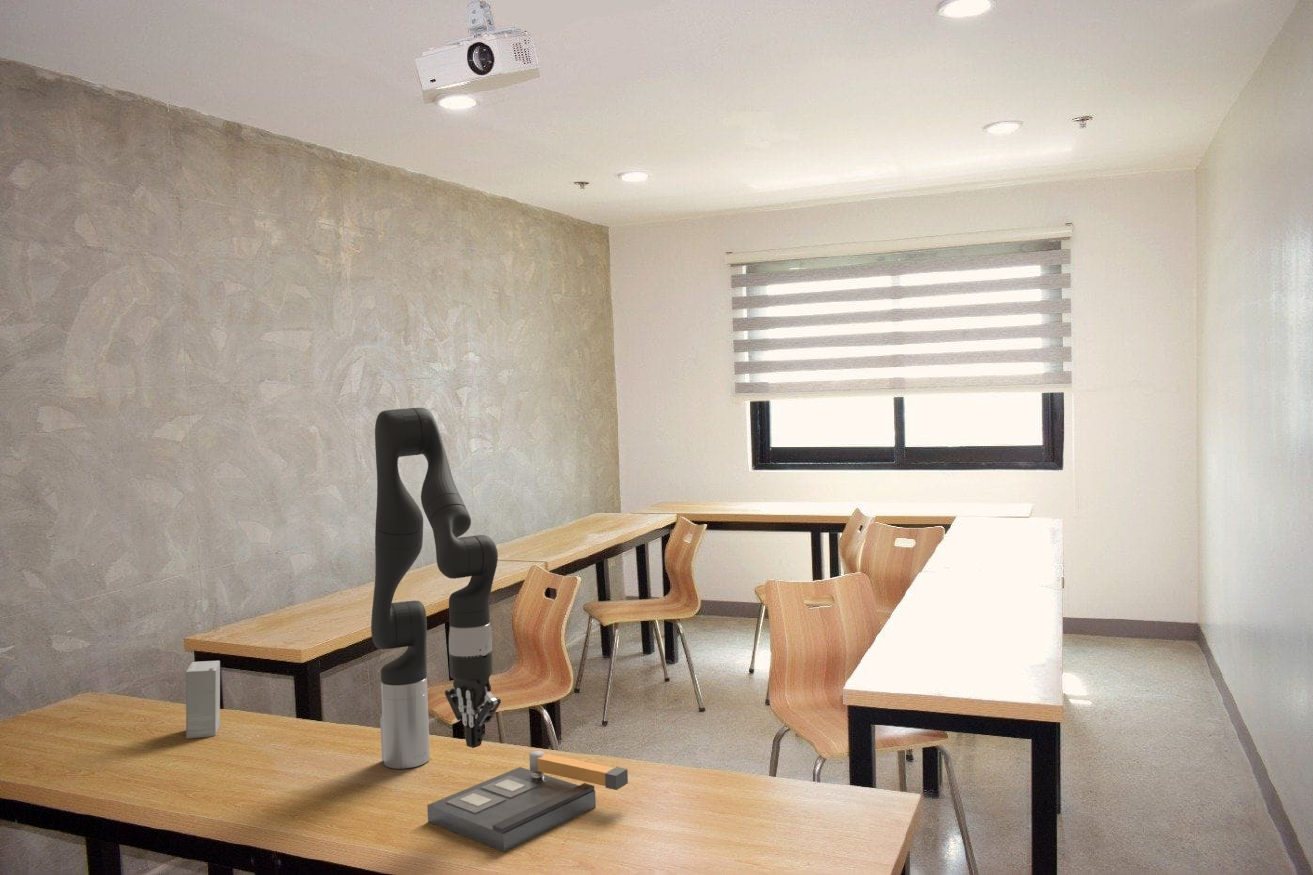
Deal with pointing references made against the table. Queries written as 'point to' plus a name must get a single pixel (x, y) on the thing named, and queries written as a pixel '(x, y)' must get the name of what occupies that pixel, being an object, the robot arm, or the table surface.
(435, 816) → the plate
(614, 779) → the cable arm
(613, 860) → the table surface
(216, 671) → the skincare box
